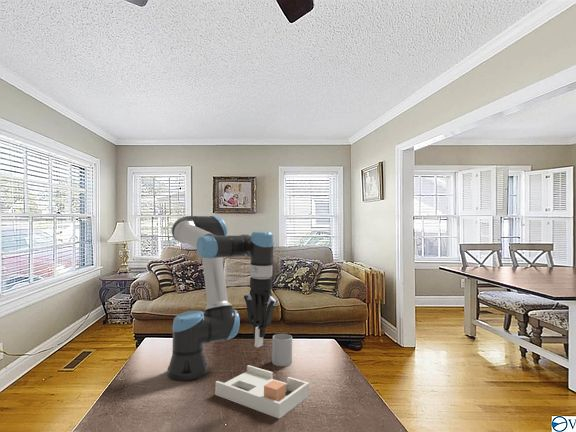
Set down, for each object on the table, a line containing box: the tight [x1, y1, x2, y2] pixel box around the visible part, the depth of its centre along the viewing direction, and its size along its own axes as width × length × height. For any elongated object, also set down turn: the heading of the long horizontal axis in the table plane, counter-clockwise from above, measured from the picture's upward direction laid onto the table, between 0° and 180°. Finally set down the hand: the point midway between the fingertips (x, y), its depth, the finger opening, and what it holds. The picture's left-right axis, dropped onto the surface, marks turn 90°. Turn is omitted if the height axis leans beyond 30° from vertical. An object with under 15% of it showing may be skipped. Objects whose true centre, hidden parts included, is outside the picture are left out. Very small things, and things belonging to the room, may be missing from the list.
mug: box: [271, 333, 293, 367], centre depth 159 cm, size 12×8×11 cm
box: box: [214, 364, 310, 419], centre depth 127 cm, size 27×18×4 cm, turn 57°
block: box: [264, 379, 286, 402], centre depth 119 cm, size 5×5×5 cm
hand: (258, 345), depth 126 cm, fingers closed
